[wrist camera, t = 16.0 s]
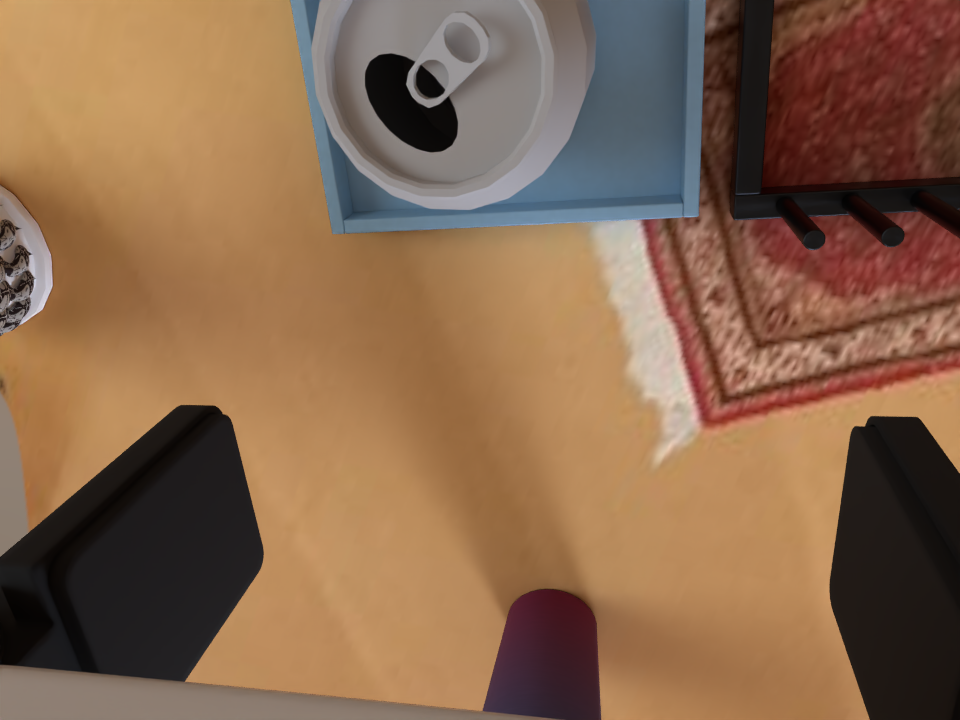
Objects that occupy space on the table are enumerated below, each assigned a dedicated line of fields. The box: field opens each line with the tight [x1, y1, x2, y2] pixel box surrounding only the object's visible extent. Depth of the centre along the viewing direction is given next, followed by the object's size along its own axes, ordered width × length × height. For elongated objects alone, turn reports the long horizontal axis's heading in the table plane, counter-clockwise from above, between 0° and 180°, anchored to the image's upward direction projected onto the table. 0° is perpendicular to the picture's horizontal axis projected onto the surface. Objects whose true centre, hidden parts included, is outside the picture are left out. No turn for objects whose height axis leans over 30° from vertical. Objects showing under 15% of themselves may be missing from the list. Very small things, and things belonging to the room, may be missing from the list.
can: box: [311, 0, 596, 210], centre depth 23 cm, size 8×8×12 cm
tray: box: [290, 0, 706, 234], centre depth 28 cm, size 15×13×2 cm
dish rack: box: [730, 0, 960, 250], centre depth 24 cm, size 11×14×6 cm
